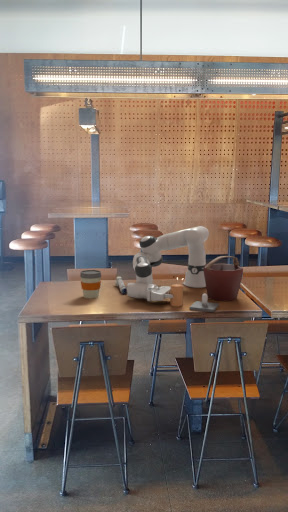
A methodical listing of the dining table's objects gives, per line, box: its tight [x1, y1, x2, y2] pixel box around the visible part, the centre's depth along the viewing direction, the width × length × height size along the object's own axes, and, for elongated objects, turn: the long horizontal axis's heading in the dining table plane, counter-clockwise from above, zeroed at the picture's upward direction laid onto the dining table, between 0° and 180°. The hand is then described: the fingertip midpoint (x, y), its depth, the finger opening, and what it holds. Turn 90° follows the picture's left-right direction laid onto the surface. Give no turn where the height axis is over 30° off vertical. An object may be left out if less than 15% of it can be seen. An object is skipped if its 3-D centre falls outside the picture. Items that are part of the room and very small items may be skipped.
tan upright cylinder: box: [169, 283, 184, 307], centre depth 252 cm, size 7×7×11 cm
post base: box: [189, 293, 220, 313], centre depth 246 cm, size 13×13×8 cm
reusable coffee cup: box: [79, 269, 102, 299], centre depth 269 cm, size 13×13×15 cm
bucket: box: [204, 255, 244, 302], centre depth 266 cm, size 24×22×25 cm
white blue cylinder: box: [114, 276, 127, 295], centre depth 288 cm, size 5×7×25 cm
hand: (175, 294), depth 251 cm, fingers open, 8 cm apart
